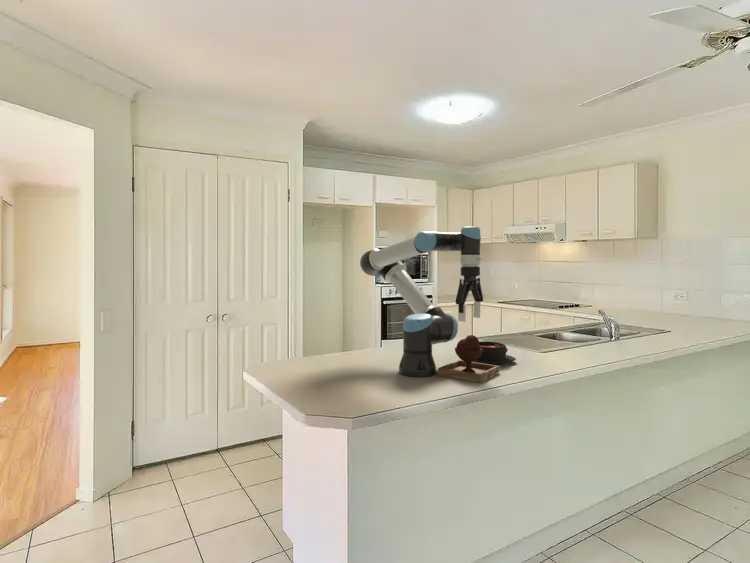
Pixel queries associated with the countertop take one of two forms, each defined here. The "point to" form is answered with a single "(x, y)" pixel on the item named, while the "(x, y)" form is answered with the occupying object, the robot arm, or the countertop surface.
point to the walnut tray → (456, 372)
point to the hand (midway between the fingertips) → (469, 319)
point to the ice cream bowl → (469, 351)
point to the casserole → (493, 353)
